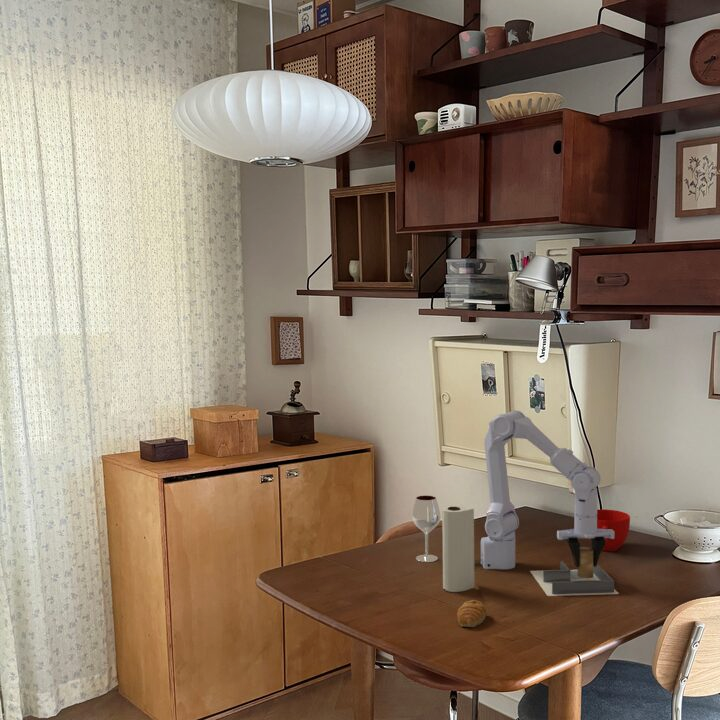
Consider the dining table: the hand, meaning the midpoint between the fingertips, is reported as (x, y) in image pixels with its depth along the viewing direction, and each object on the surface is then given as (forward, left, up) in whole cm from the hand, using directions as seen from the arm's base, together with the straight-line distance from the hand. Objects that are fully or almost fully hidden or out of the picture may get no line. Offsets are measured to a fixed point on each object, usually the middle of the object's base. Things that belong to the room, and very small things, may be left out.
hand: (585, 565), depth 212 cm
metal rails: (-3, -1, -4) cm, 5 cm away
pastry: (-33, -21, -6) cm, 40 cm away
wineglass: (-39, +24, -5) cm, 46 cm away
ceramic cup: (+15, +28, -5) cm, 33 cm away
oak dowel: (0, 0, -3) cm, 3 cm away
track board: (-3, 0, -5) cm, 6 cm away
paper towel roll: (-34, -1, -5) cm, 34 cm away
